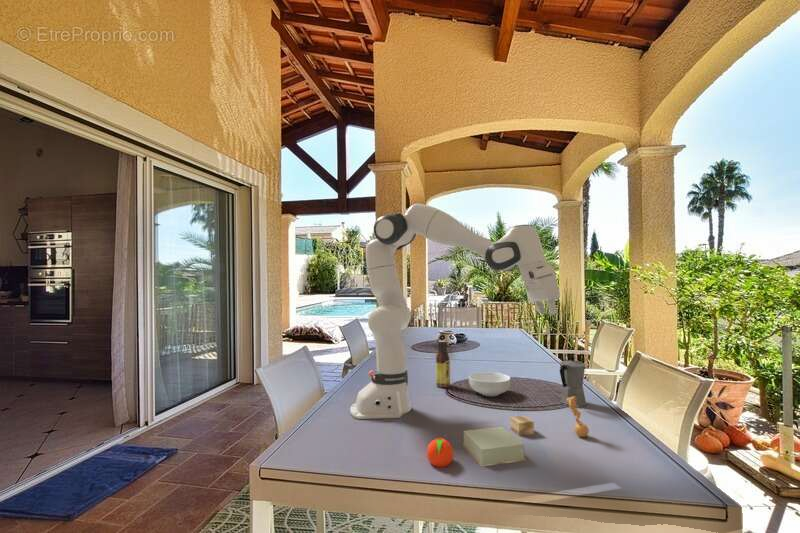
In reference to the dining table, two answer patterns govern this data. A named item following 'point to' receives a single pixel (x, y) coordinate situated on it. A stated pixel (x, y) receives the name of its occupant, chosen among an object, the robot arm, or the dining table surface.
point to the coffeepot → (572, 381)
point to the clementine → (440, 452)
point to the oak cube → (522, 425)
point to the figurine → (580, 427)
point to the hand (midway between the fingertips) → (548, 314)
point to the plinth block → (493, 445)
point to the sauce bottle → (442, 365)
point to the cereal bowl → (489, 383)
